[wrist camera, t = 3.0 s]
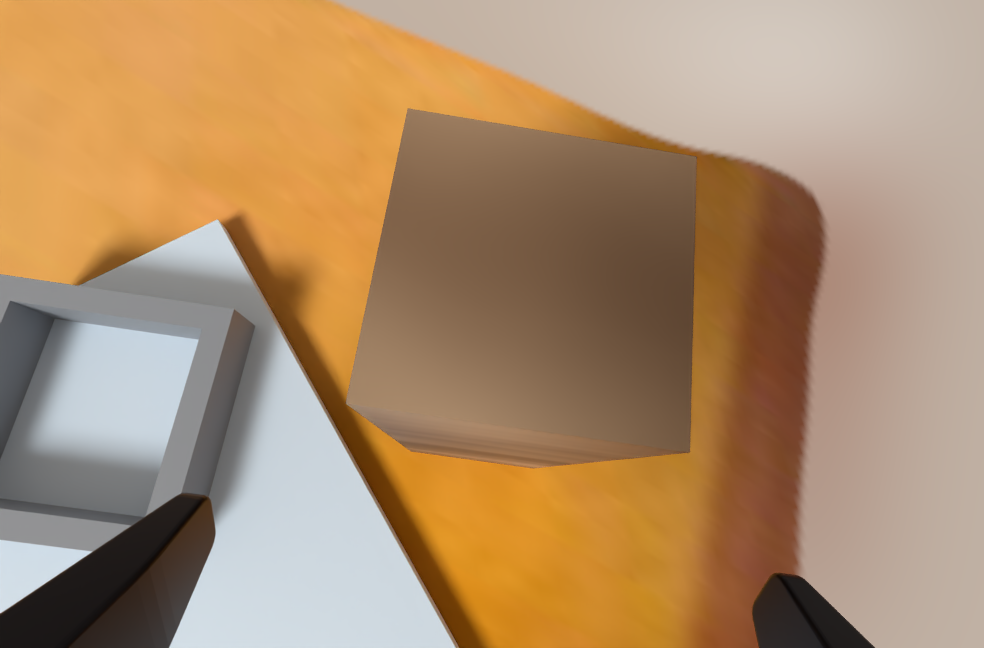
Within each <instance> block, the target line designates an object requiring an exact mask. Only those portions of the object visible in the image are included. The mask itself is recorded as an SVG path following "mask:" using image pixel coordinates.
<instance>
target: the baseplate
mask: <svg viewBox="0 0 984 648" xmlns="http://www.w3.org/2000/svg"><path fill="white" fill-rule="evenodd" d="M181 493H194V494H201V495H206V496H208V497H209V498H210V499H211V502H212V508H213V515H214V522H215V528H216V535H215V541H214V544H213V547H212V549H211V552H210V554H209V556H208V559H207V561H206V563H205V566H204V568H203V571H202V573H201V575H200V578H199V580H198V582H197V585H196V587H195V589H194V592H193V594H192V596H191V599H190V601H189V603H188V606H187V608H186V610H185V613H184V615H183V618H182V620H181V622H180V625H179V627H178V629H177V632H176V634H175V636H174V638H173V640H172V643H171V645H170V647H169V648H459V646H458V644H457V643H456V641H455V639H454V637H453V635H452V634H451V632H450V630H449V628H448V626H447V625H446V623H445V621H444V619H443V617H442V616H441V614H440V612H439V610H438V608H437V607H436V605H435V603H434V601H433V599H432V598H431V596H430V594H429V592H428V591H427V589H426V587H425V585H424V583H423V582H422V580H421V578H420V576H419V574H418V573H417V571H416V569H415V567H414V565H413V564H412V562H411V560H410V558H409V556H408V555H407V553H406V551H405V549H404V547H403V546H402V544H401V542H400V540H399V538H398V537H397V535H396V533H395V531H394V529H393V528H392V526H391V524H390V522H389V520H388V519H387V517H386V515H385V513H384V511H383V510H382V508H381V506H380V504H379V503H378V501H377V499H376V497H375V495H374V494H373V492H372V490H371V488H370V486H369V485H368V483H367V481H366V479H365V477H364V476H363V474H362V472H361V470H360V468H359V467H358V465H357V463H356V461H355V459H354V458H353V456H352V454H351V452H350V450H349V449H348V447H347V445H346V443H345V441H344V440H343V438H342V436H341V434H340V432H339V431H338V429H337V427H336V425H335V423H334V422H333V420H332V418H331V416H330V415H329V413H328V411H327V409H326V407H325V406H324V404H323V402H322V400H321V398H320V397H319V395H318V393H317V391H316V389H315V388H314V386H313V384H312V382H311V380H310V379H309V377H308V375H307V373H306V371H305V370H304V368H303V366H302V364H301V362H300V361H299V359H298V357H297V355H296V353H295V352H294V350H293V348H292V346H291V344H290V343H289V341H288V339H287V337H286V335H285V334H284V332H283V330H282V328H281V326H280V325H279V323H278V321H277V319H276V318H275V316H274V314H273V312H272V310H271V309H270V307H269V305H268V303H267V301H266V300H265V298H264V296H263V294H262V292H261V291H260V289H259V287H258V285H257V283H256V282H255V280H254V278H253V276H252V274H251V273H250V271H249V269H248V267H247V265H246V264H245V262H244V260H243V258H242V256H241V255H240V253H239V251H238V249H237V247H236V246H235V244H234V242H233V240H232V238H231V237H230V235H229V233H228V231H227V230H226V228H225V227H224V226H223V225H222V224H221V223H220V221H219V220H215V221H213V222H211V223H209V224H207V225H205V226H203V227H201V228H199V229H197V230H194V231H192V232H190V233H188V234H186V235H184V236H182V237H180V238H178V239H176V240H173V241H171V242H169V243H167V244H165V245H163V246H161V247H159V248H157V249H155V250H152V251H150V252H148V253H146V254H144V255H142V256H140V257H138V258H136V259H134V260H131V261H129V262H127V263H125V264H123V265H121V266H119V267H117V268H115V269H113V270H110V271H108V272H106V273H104V274H102V275H100V276H98V277H96V278H94V279H92V280H89V281H87V282H85V283H83V284H81V285H79V286H76V285H69V284H62V283H56V282H49V281H42V280H35V279H29V278H22V277H15V276H8V275H2V274H0V613H2V612H3V611H5V610H6V609H8V608H9V607H11V606H12V605H14V604H15V603H17V602H18V601H20V600H21V599H23V598H24V597H26V596H27V595H28V594H30V593H31V592H33V591H34V590H36V589H37V588H39V587H40V586H42V585H43V584H45V583H46V582H48V581H49V580H51V579H52V578H54V577H55V576H57V575H58V574H60V573H61V572H63V571H64V570H66V569H67V568H69V567H70V566H72V565H73V564H75V563H76V562H78V561H79V560H81V559H82V558H84V557H85V556H87V555H88V554H90V553H91V552H93V551H94V550H96V549H97V548H99V547H100V546H102V545H103V544H105V543H106V542H108V541H109V540H111V539H112V538H114V537H115V536H117V535H118V534H120V533H121V532H123V531H124V530H125V529H127V528H128V527H130V526H131V525H133V524H134V523H136V522H137V521H139V520H140V519H142V518H143V517H145V516H146V515H148V514H149V513H151V512H152V511H154V510H155V509H157V508H158V507H160V506H161V505H163V504H164V503H166V502H167V501H169V500H170V499H172V498H173V497H175V496H176V495H178V494H181Z"/></svg>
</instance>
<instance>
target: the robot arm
mask: <svg viewBox="0 0 984 648" xmlns="http://www.w3.org/2000/svg"><path fill="white" fill-rule="evenodd" d="M215 535H216V528H215V522H214V515H213V508H212V502H211V499H210V498H209V497H208V496H206V495H201V494H194V493H181V494H178V495H176V496H175V497H173V498H172V499H170V500H169V501H167V502H166V503H164V504H163V505H161V506H160V507H158V508H157V509H155V510H154V511H152V512H151V513H149V514H148V515H146V516H145V517H143V518H142V519H140V520H139V521H137V522H136V523H134V524H133V525H131V526H130V527H128V528H127V529H125V530H124V531H123V532H121V533H120V534H118V535H117V536H115V537H114V538H112V539H111V540H109V541H108V542H106V543H105V544H103V545H102V546H100V547H99V548H97V549H96V550H94V551H93V552H91V553H90V554H88V555H87V556H85V557H84V558H82V559H81V560H79V561H78V562H76V563H75V564H73V565H72V566H70V567H69V568H67V569H66V570H64V571H63V572H61V573H60V574H58V575H57V576H55V577H54V578H52V579H51V580H49V581H48V582H46V583H45V584H43V585H42V586H40V587H39V588H37V589H36V590H34V591H33V592H31V593H30V594H28V595H27V596H26V597H24V598H23V599H21V600H20V601H18V602H17V603H15V604H14V605H12V606H11V607H9V608H8V609H6V610H5V611H3V612H2V613H0V648H169V647H170V645H171V643H172V640H173V638H174V636H175V634H176V632H177V629H178V627H179V625H180V622H181V620H182V618H183V615H184V613H185V610H186V608H187V606H188V603H189V601H190V599H191V596H192V594H193V592H194V589H195V587H196V585H197V582H198V580H199V578H200V575H201V573H202V571H203V568H204V566H205V563H206V561H207V559H208V556H209V554H210V552H211V549H212V547H213V544H214V541H215ZM752 615H753V622H754V626H755V631H756V636H757V640H758V645H759V648H875V647H874V646H873V645H872V644H871V643H870V642H869V641H868V640H866V639H865V638H864V637H863V636H862V635H861V634H860V633H859V632H858V631H857V630H856V629H855V628H854V627H853V626H852V625H851V624H850V623H849V622H848V621H847V620H846V619H845V618H844V617H843V616H842V615H841V614H840V613H839V612H837V610H836V609H835V608H834V607H832V605H831V604H829V602H827V601H826V600H825V599H824V598H823V597H822V596H821V595H820V594H819V593H818V592H817V591H816V590H815V589H814V588H813V587H812V586H811V585H810V584H809V583H808V582H807V581H806V580H805V579H803V578H802V577H800V576H797V575H791V574H784V573H774V574H772V575H771V576H770V577H769V579H768V580H767V582H766V584H765V585H764V587H763V588H762V590H761V591H760V593H759V595H758V596H757V598H756V599H755V601H754V604H753V609H752Z"/></svg>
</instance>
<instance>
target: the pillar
mask: <svg viewBox="0 0 984 648" xmlns="http://www.w3.org/2000/svg"><path fill="white" fill-rule="evenodd" d="M696 164H697V157H696V156H690V155H684V154H678V153H672V152H666V151H660V150H654V149H648V148H642V147H636V146H630V145H624V144H618V143H612V142H606V141H600V140H594V139H588V138H582V137H576V136H570V135H564V134H558V133H552V132H546V131H540V130H534V129H528V128H522V127H516V126H510V125H504V124H498V123H492V122H486V121H480V120H474V119H468V118H462V117H456V116H450V115H444V114H438V113H432V112H426V111H420V110H414V109H408V110H407V115H406V120H405V124H404V129H403V134H402V138H401V143H400V148H399V153H398V157H397V162H396V167H395V172H394V176H393V181H392V186H391V191H390V195H389V200H388V205H387V209H386V214H385V219H384V224H383V228H382V233H381V238H380V243H379V247H378V252H377V257H376V262H375V266H374V271H373V276H372V280H371V285H370V290H369V295H368V299H367V304H366V309H365V314H364V318H363V323H362V328H361V333H360V337H359V342H358V347H357V352H356V356H355V361H354V366H353V370H352V375H351V380H350V385H349V389H348V394H347V399H346V404H347V405H348V406H350V407H351V408H352V409H354V410H355V411H357V412H358V413H359V414H361V415H362V416H363V417H365V418H366V419H367V420H369V421H370V422H372V423H373V424H374V425H376V426H377V427H378V428H380V429H381V430H382V431H384V432H385V433H387V434H388V435H389V436H391V437H392V438H393V439H395V440H396V441H398V442H399V443H400V444H402V445H403V446H404V447H406V448H407V449H408V450H410V451H412V452H420V453H427V454H434V455H441V456H448V457H456V458H463V459H470V460H477V461H484V462H492V463H499V464H506V465H513V466H520V467H528V468H541V467H551V466H560V465H570V464H580V463H590V462H600V461H610V460H620V459H630V458H639V457H649V456H659V455H669V454H679V453H689V452H690V429H691V385H692V341H693V296H694V252H695V208H696Z"/></svg>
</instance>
